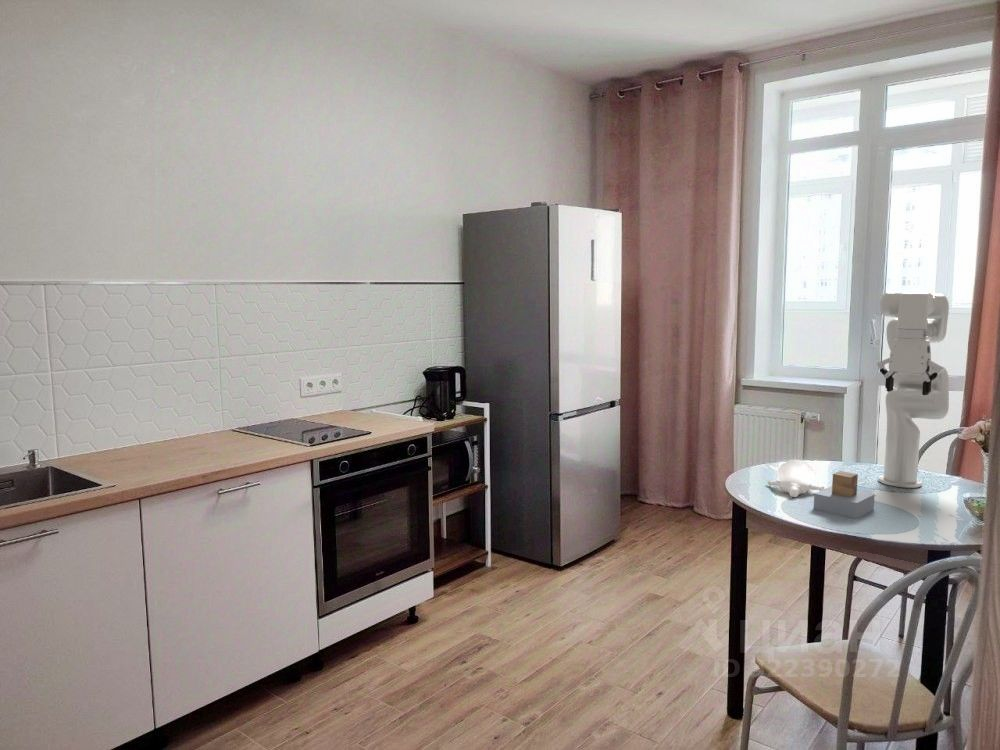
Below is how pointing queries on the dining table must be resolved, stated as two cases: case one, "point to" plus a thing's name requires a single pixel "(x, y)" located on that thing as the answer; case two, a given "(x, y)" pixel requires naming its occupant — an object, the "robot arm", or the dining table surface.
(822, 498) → the plinth
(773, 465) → the dining table surface
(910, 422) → the robot arm
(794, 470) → the figurine
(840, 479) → the walnut block
